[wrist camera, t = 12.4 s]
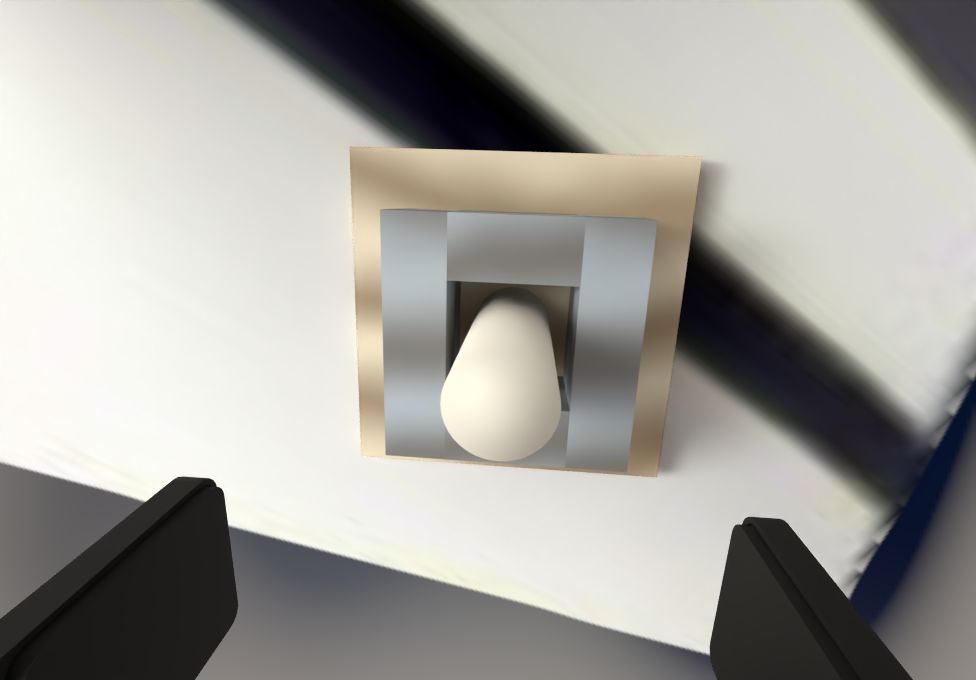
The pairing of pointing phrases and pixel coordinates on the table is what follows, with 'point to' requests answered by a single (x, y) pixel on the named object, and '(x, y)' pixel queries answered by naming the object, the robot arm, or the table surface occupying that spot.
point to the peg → (504, 380)
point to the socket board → (528, 265)
